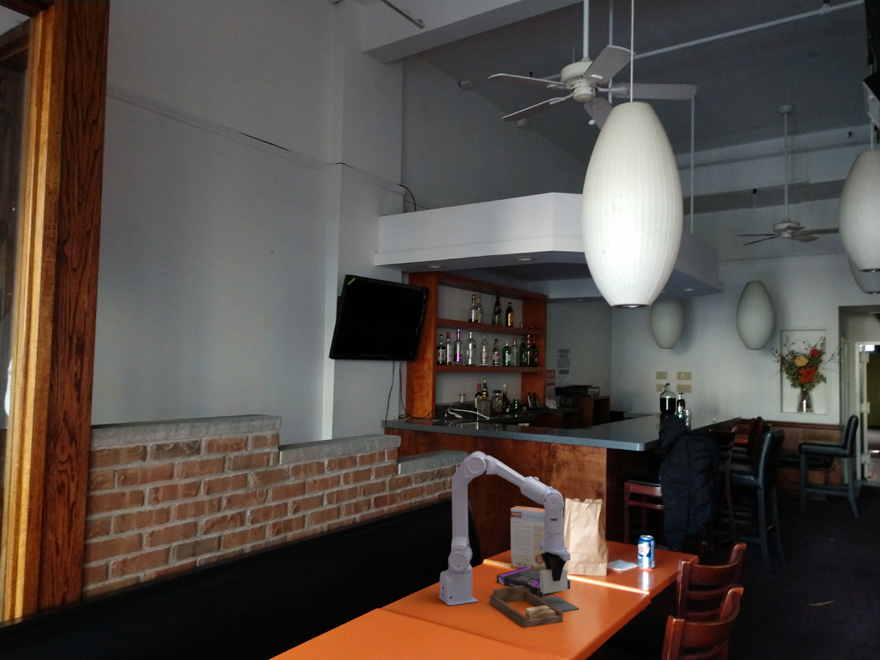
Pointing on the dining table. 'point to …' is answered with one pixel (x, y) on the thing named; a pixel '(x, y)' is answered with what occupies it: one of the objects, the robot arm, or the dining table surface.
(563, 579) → the light grey block
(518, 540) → the cracker box
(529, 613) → the offcuts
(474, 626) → the dining table surface
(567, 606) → the mat
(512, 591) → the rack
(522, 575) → the box
